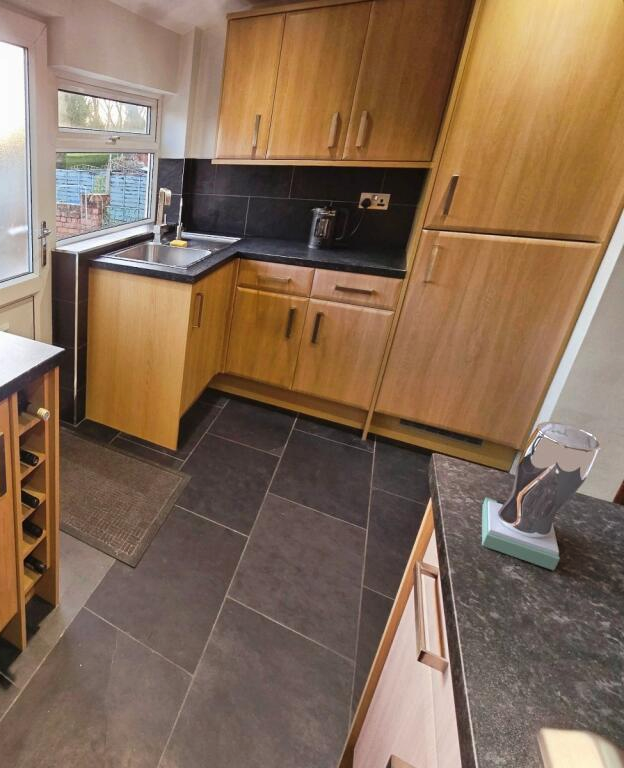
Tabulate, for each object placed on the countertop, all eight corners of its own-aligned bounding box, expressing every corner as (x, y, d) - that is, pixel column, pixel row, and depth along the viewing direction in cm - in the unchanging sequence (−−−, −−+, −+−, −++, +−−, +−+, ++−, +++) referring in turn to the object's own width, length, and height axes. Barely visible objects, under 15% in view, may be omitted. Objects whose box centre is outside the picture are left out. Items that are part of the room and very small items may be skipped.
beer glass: (564, 533, 69) (617, 444, 62) (532, 546, 67) (583, 455, 60) (513, 501, 75) (556, 416, 68) (481, 512, 72) (523, 426, 65)
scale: (481, 507, 78) (487, 494, 77) (545, 527, 74) (552, 513, 73) (482, 545, 70) (488, 531, 69) (554, 571, 66) (561, 555, 65)
